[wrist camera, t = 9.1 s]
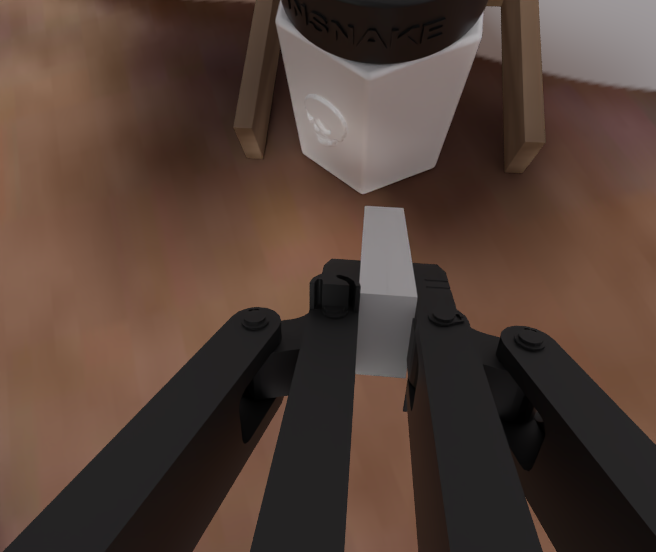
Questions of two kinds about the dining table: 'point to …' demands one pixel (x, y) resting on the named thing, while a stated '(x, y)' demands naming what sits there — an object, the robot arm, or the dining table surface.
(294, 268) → the dining table surface
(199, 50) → the dining table surface
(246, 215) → the dining table surface
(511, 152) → the box
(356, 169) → the jar
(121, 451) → the robot arm
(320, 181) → the dining table surface
